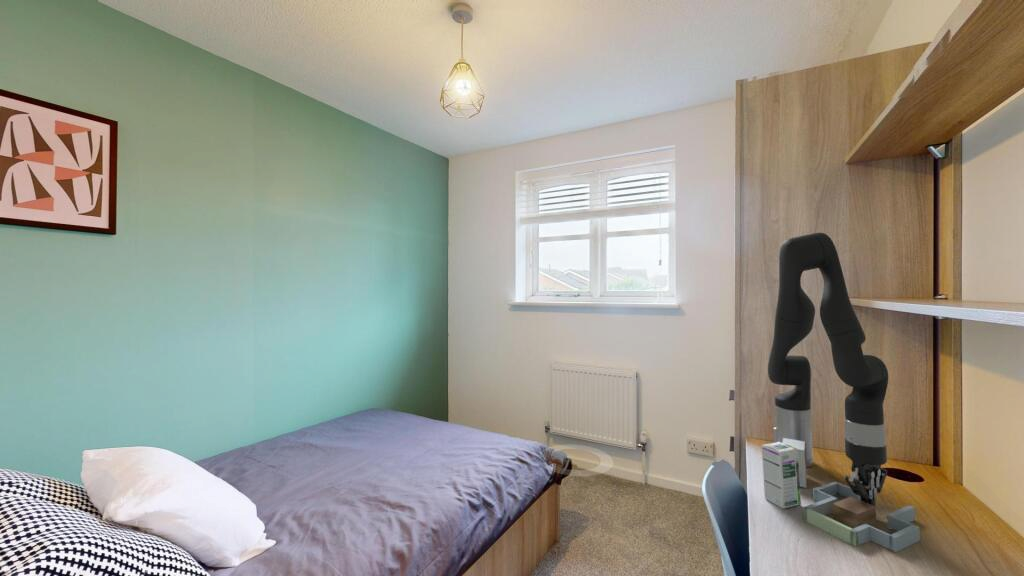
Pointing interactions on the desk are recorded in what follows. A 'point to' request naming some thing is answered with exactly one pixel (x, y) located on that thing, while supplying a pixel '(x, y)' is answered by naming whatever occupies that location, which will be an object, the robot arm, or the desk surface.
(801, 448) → the small box
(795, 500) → the syrup box
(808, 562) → the desk surface
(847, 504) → the walnut block
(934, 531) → the desk surface
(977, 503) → the desk surface
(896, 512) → the trap channel
